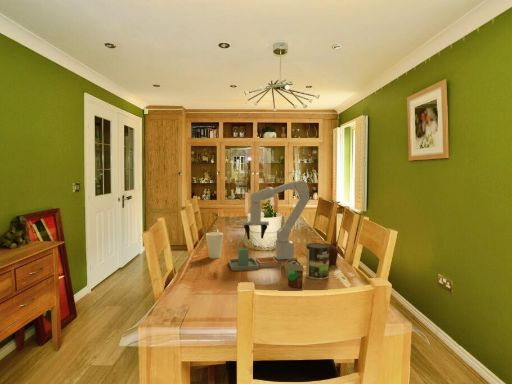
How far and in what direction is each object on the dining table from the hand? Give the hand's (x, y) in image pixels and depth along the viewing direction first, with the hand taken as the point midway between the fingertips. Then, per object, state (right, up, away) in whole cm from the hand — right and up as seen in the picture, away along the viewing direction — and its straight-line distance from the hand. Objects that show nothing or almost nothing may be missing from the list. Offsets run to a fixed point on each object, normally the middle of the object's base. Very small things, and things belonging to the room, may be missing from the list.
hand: (255, 238), depth 184 cm
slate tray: (-6, -12, -16) cm, 21 cm away
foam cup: (-22, -11, +2) cm, 25 cm away
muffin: (+37, -11, -12) cm, 40 cm away
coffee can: (+28, -13, -32) cm, 45 cm away
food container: (+16, -14, -44) cm, 49 cm away
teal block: (-6, -11, -16) cm, 20 cm away
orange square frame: (+6, -11, -14) cm, 19 cm away
